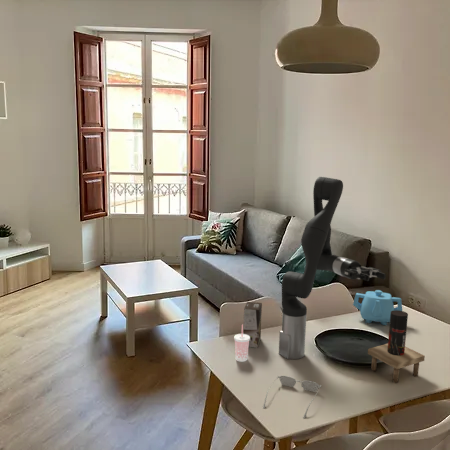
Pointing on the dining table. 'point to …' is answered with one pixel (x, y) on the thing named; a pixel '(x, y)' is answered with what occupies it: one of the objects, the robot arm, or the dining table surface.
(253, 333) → the coffee box
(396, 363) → the stool
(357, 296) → the teapot
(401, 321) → the deodorant
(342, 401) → the dining table surface
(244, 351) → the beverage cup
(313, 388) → the eyeglasses
